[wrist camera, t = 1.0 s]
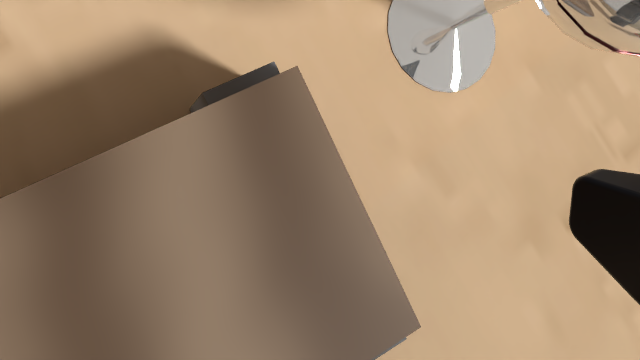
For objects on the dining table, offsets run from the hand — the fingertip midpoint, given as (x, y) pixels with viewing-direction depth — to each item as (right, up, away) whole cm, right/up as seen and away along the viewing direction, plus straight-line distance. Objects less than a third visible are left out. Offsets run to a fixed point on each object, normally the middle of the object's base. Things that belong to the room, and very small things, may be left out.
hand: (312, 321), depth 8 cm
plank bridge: (-7, -3, +12) cm, 14 cm away
